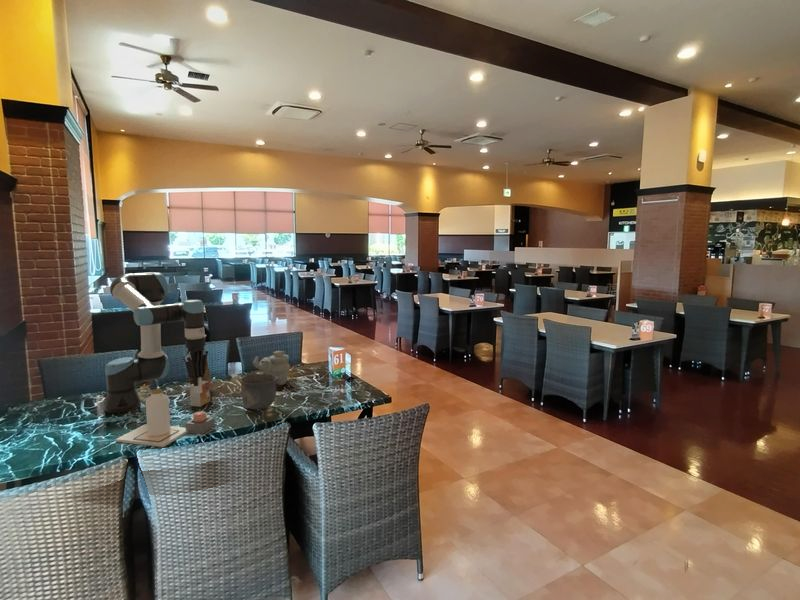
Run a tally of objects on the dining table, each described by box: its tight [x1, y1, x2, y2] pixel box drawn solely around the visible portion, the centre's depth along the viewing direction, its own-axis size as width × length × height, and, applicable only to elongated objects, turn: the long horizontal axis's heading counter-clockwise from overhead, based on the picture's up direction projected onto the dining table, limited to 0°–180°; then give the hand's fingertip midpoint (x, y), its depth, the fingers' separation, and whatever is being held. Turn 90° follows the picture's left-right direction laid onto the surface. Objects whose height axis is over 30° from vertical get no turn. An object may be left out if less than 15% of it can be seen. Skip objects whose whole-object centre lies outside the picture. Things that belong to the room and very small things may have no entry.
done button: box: [192, 410, 207, 423], centre depth 190 cm, size 5×5×4 cm
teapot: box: [252, 350, 291, 386], centre depth 253 cm, size 16×15×19 cm
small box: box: [189, 381, 211, 407], centre depth 221 cm, size 8×6×10 cm
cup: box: [239, 372, 278, 410], centre depth 214 cm, size 18×18×15 cm
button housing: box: [184, 416, 215, 435], centre depth 191 cm, size 8×8×4 cm
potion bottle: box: [145, 388, 171, 436], centre depth 183 cm, size 8×8×18 cm
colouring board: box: [115, 423, 188, 448], centre depth 184 cm, size 22×16×1 cm
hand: (198, 392), depth 189 cm, fingers closed
